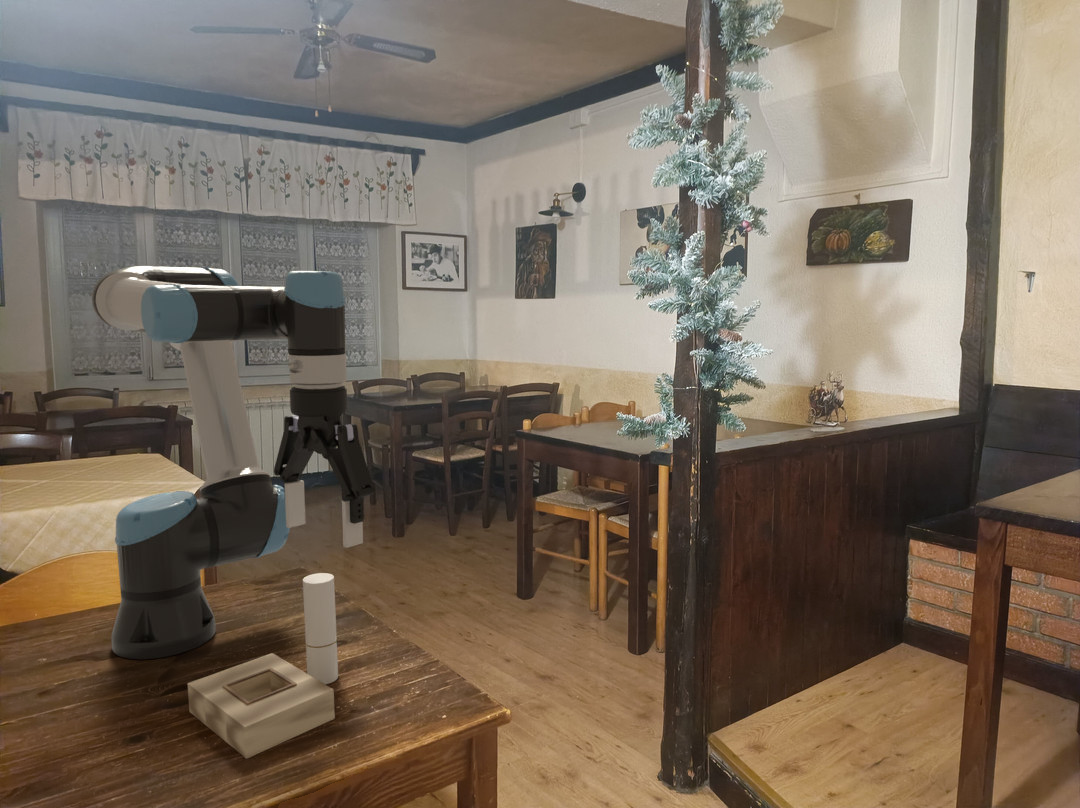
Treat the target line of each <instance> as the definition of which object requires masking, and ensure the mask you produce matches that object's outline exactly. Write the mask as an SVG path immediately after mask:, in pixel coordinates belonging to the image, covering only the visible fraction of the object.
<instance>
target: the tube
mask: <svg viewBox="0 0 1080 808" xmlns="http://www.w3.org/2000/svg"><path fill="white" fill-rule="evenodd" d="M335 591H336V590H335V576H334V575H333V574H331V573H328V572H327V573H325V572H318V573H312V574H309V575H307V576H305V577H304V578H302V594H303V612H304V613H303V614H304V615H303V616H304V631H305V632H304V634H305V654H306V657H305V658H306V673H307V674H308V675H310V676H312V677H313V678H315V679H317V680H318V681H320V682H322V683H323V684H325V685H329V684H331V683H333V682H335V681H337V680H338V678H339V664H338V662H339V661H338V643H337V642H338V641H337V637H338V636H337V618H336V617H337V616H336V613H337V612H336V596H335V595H336V594H335V593H336V592H335Z"/></svg>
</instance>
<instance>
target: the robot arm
mask: <svg viewBox="0 0 1080 808" xmlns="http://www.w3.org/2000/svg"><path fill="white" fill-rule="evenodd" d="M91 304H92V308H93V310H94V312H95V314H96V315H97V317H98V318H99V319H100V320H101V321H102V322H103V323H105V324H106V325H108V326H110V327H112V328H113V329H114V328H115V329H118V330H121V331H127V332H128V331H129V332H134V333H135V332H138V333H146V336H147V337H148V338H149V339H150V340H151V341H153V342H157V343H169V344H170V347H172V348H174V349H176V350H177V351H180V353H181V358H182V363H183V368H184V372H185V377H186V382H187V387H188V392H189V397H190V401H191V402H190V403H191V407H192V411H193V415H194V420H195V426H196V430H197V436H198V439H199V445H200V450H201V456H202V460H203V465H204V470H205V474H206V480H205V481H204V483H203V484H202V485H201V487H200V488H199V492H200V493H199V494H200V498H198V497H197V496H196V495H195V494H194V493H193V492H191V491H188V490H187V491H186V490H177V491H173V492H170V491H167V492H163V493H162V492H160V493H158V494H157V493H156V494H154V495H149V496H145V497H143V498H140V499H137V500H135V501H132V502H131V503H128V504H127V505H125V506H124V507H123V508H121V510H120V511H118V513H117V515H116V519H115V537H114V538H115V539H114V541H115V542H114V543H115V544H116V550H117V551H116V552H117V563H118V576H119V577H118V578H119V585H120V586H119V587H120V589H119V590H120V604H119V606H118V611H117V614H116V617H115V621H114V625H113V628H112V631H111V637H110V638H111V650H112V652H113V653H114V655H117V656H118V657H121V658H124V659H129V660H130V659H131V660H151V659H160V658H167V657H171V656H175V655H179V654H182V653H185V652H188V651H191V650H193V649H197V648H198V647H200V646H202V645H204V644H206V643H208V642H209V640H211V639H212V638H213V637H214V636H215V634H216V630H217V629H216V618H215V615H214V612H213V610H212V608H211V606H210V603H209V601H208V599H207V597H206V594H205V592H204V590H203V588H202V579H201V578H202V577H201V572H202V570H204V569H207V568H208V569H209V568H213V567H218V566H222V565H226V564H231V563H236V562H241V561H245V560H249V559H253V558H254V559H258V558H260V557H263V556H265V555H269V554H273V553H276V552H278V551H279V550H280V549H282V548H283V546H284V545H285V544H286V542H287V540H288V537H289V534H290V530H291V528H295V527H299V526H303V525H306V524H307V523H306V501H305V500H306V499H305V481H304V480H303V479H304V478H305V477H304V475H303V473H304V471H305V468H306V467H307V465H308V463H309V462H310V460H311V457H312V456H313V454H314V452H315V453H317V454H319V455H321V456H322V458H324V459H325V460H327V461H328V463H329V465H330V468H331V469H332V471H333V473H334V476H335V478H336V480H337V481H338V483H339V486H340V487H341V489H342V492H343V494H344V496H343V498H342V499H341V516H342V517H341V519H342V520H341V521H342V546H343V548H350V547H351V548H352V547H354V546H357V545H361V544H364V529H363V528H364V527H363V525H364V523H363V522H364V519H365V513H364V512H365V511H364V509H365V508H364V502H365V501H364V499H365V498H366V497H369V496H372V495H375V492H376V491H375V487H374V484H373V480H372V478H371V475H370V472H369V469H368V464H367V462H366V458H365V455H364V453H363V450H362V447H361V442H360V439H359V431H358V425H357V424H356V423H350V424H349V423H348V424H343V423H342V419H341V416H342V415H343V414H345V413H346V412H347V410H348V393H347V391H348V390H347V387H346V386H345V385H343V384H345V382H347V380H348V376H347V374H348V373H347V354H346V311H345V310H346V298H345V295H344V283H343V277H342V275H340V274H339V273H338V272H336V271H328V270H327V271H325V270H324V271H323V270H321V271H320V270H291V271H289V272H288V273H287V274H286V276H285V285H284V286H283V285H278V286H277V285H269V286H268V285H263V286H262V285H261V286H259V285H254V286H253V285H239V283H238V281H237V279H236V278H235V277H234V275H232V274H231V273H230V272H229V271H227V270H224V269H222V268H210V267H208V266H199V267H189V266H188V267H186V266H185V267H182V266H180V267H179V266H157V265H156V266H152V265H151V266H150V265H134V266H126V267H123V268H119V269H116V270H113V271H110V272H109V273H107V274H105V275H103V276H101V278H100V279H99V280H98V281H97V282H96V284H94V286H93V290H92V294H91ZM257 340H259V341H260V340H261V341H262V340H287V347H288V348H287V353H288V361H289V364H288V365H287V366H288V369H289V382H290V383H291V384H293V385H294V386H292V387H291V389H290V390H289V401H290V402H289V406H290V412H291V414H292V415H285V416H284V419H283V432H282V433H283V434H282V437H281V441H280V446H279V448H278V449H279V450H278V451H277V452H278V453H277V455H276V460H275V465H274V468H273V473H274V475H275V476H276V477H278V476H280V479H281V482H282V483H283V486H284V487H283V486H282V485H278V484H273V483H272V478H271V474H270V473H269V472H267V471H265V470H263V469H261V467H260V466H259V462H258V458H257V454H256V453H257V452H256V447H255V445H254V440H253V439H254V438H253V434H252V431H251V425H250V421H249V417H248V416H249V415H248V413H247V407H246V403H245V398H244V394H243V389H242V385H241V380H240V376H239V372H238V367H237V361H236V358H235V353H234V349H233V348H234V347H233V343H234V341H257Z"/></svg>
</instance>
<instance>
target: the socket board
mask: <svg viewBox="0 0 1080 808" xmlns="http://www.w3.org/2000/svg"><path fill="white" fill-rule="evenodd" d="M334 691H335V690H334V688H332V687H330V686H328V684H323V683H322V682H320V681H318V680H317V679H315V678H313V677H312V676H310V675H308V674H307V672H305V671H303V670H301V669H300V668H299V667H297V666H295V665H293V664H291V663H290V662H288V661H286V660H285V659H283V658H281V657H280V656H278V655H276V654H275V653H273V652H271V653H269V654H266V655H262V656H260V657H258V658H255V659H251V660H249V661H246V662H243V663H241V664H238V665H235V666H232V667H229V668H227V669H224V670H221V671H218V672H215V673H213V674H210V675H208V676H204V677H201V678H198V679H195V680H192V681H190V682H187V695H188V696H187V697H188V708H189V709H188V710H189V714H192V715H193V716H194V717H196V719H197V720H198V721H200V722H201V723H202V724H204V726H206V727H207V728H209V729H210V730H211V731H212V732H213V733H215V735H217V736H218V737H220V738H221V740H224V742H225V743H227V744H228V745H229V746H231V747H232V748H233V749H234V750H235V751H236V752H238V754H240V755H241V756H243V757H244V758H245V759H246V760H247V759H249V758H252V757H254V756H255V755H257V754H259V753H262V752H265V751H266V750H268V749H271V748H273V747H276V746H277V745H280V744H282V743H284V742H286V741H289V740H290V739H293V738H296V737H297V736H300V735H301V734H303V733H307V732H308V731H311V730H312V729H315V728H317V727H320V726H322V725H324V724H326V723H328V722H330V721H332V720H335V718H336V716H335V694H334V693H335V692H334Z"/></svg>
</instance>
